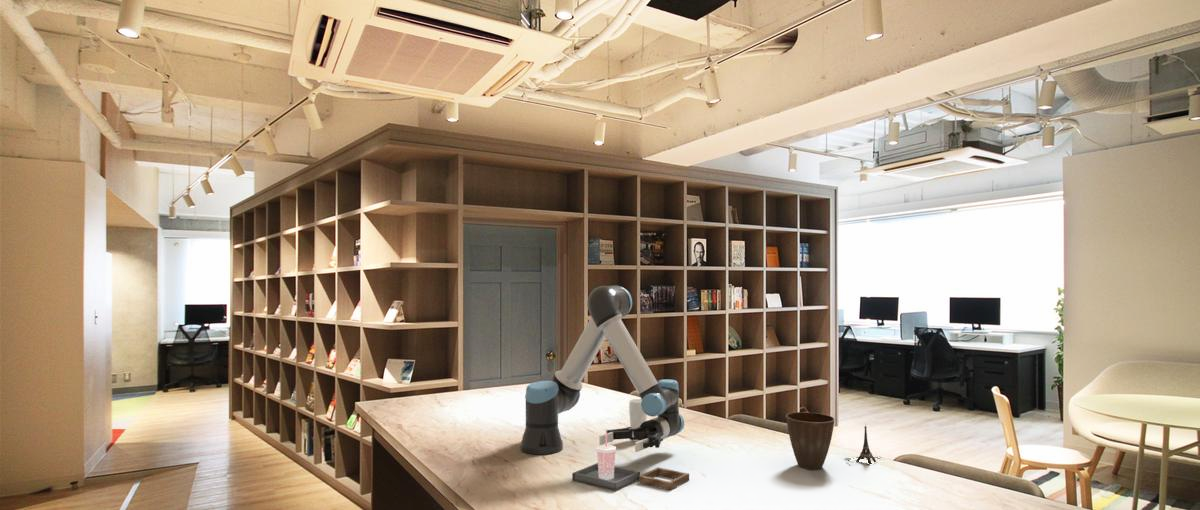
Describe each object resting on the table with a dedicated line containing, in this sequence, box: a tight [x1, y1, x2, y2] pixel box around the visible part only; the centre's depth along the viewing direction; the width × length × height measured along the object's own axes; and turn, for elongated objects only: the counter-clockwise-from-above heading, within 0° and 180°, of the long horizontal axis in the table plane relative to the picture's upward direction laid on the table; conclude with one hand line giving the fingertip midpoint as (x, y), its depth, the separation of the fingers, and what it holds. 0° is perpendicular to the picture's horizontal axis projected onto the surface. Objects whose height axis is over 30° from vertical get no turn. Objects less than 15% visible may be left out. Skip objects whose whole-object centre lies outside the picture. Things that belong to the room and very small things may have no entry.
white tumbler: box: [628, 398, 648, 443], centre depth 235 cm, size 7×7×15 cm
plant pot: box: [785, 411, 835, 471], centre depth 202 cm, size 15×15×16 cm
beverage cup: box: [595, 430, 617, 480], centre depth 188 cm, size 6×6×14 cm
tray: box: [571, 462, 641, 492], centre depth 188 cm, size 16×13×2 cm
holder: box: [638, 466, 690, 491], centre depth 186 cm, size 11×11×2 cm
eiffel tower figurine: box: [844, 422, 883, 464], centre depth 208 cm, size 15×10×13 cm
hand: (617, 443), depth 193 cm, fingers open, 13 cm apart
